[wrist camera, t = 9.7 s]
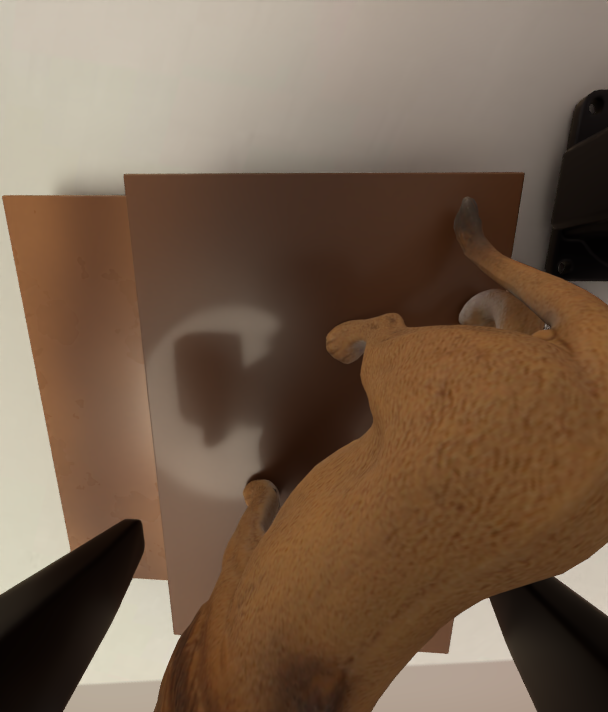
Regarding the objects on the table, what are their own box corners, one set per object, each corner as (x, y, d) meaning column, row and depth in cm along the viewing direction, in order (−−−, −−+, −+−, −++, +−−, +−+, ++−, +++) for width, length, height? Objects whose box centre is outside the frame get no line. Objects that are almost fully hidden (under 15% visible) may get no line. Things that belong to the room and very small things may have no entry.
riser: (455, 209, 13) (526, 171, 8) (415, 556, 17) (449, 654, 12) (51, 208, 14) (-78, 174, 9) (104, 539, 17) (32, 625, 13)
